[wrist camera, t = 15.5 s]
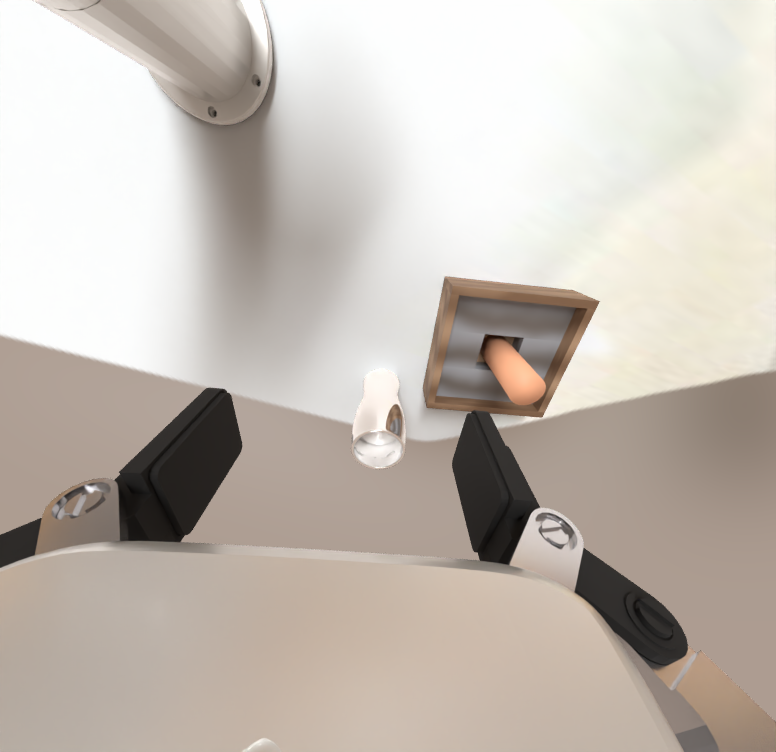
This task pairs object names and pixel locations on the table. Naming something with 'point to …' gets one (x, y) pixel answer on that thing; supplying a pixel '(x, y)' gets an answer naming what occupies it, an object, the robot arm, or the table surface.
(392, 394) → the beer glass
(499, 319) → the bore box
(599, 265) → the table surface
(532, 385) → the peg
